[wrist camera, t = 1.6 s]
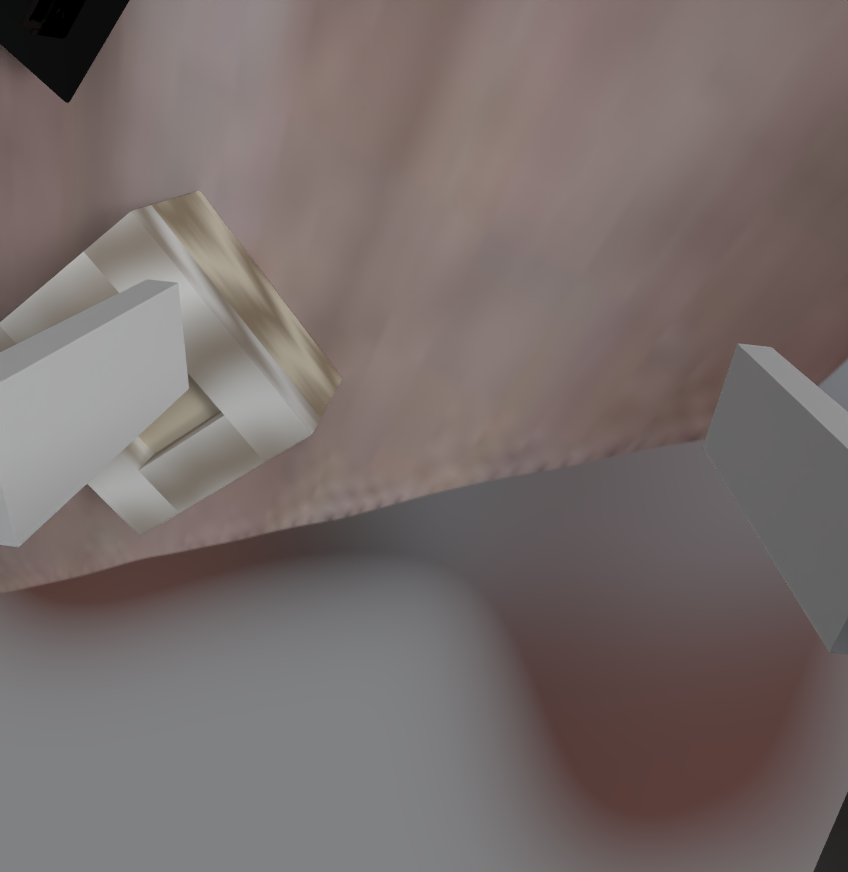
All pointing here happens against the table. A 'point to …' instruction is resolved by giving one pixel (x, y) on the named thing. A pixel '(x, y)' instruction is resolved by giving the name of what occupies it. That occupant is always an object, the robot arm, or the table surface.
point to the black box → (58, 37)
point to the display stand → (194, 357)
